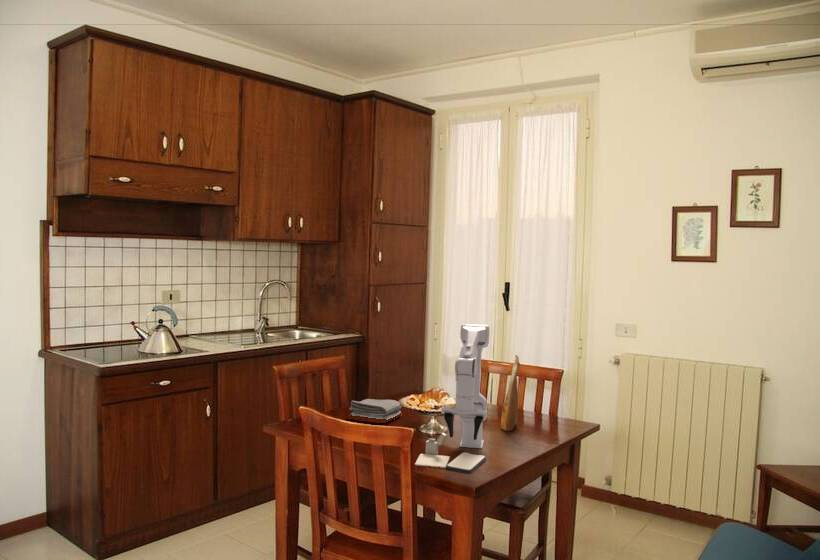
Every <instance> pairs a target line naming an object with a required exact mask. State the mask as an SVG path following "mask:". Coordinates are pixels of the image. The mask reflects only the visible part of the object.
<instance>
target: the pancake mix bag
mask: <svg viewBox="0 0 820 560" xmlns="http://www.w3.org/2000/svg"><path fill="white" fill-rule="evenodd" d="M514 357H515V358H514V363H513V366H512V369H511V376H510V381H509V384H508V388H507V392H506V394H505V395H506V396H505V399H504V402H503V405H502V411H501V419H500V428H501V430H504V431H505V432H509V431H510V430H511V431H512V430H514V429H515V426H516V422H517V417H518V407H519V405H518V403H519V399H518V398H519V396H518V392H519V391H518V378H517V376H518V375H517V374H518V372H519V370H520V366H521V362H520V361H519V360H520V359H519V358H520V357H519V356H518V355H517V354H516V355H515V356H514Z"/></svg>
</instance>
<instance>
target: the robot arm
mask: <svg viewBox="0 0 820 560" xmlns="http://www.w3.org/2000/svg"><path fill="white" fill-rule="evenodd" d="M459 335H460V341H461V343H462V347H461V348H460V351H459V357H458V359H455V362H454V363H455V364H454V373H455V383H456V384H455V406H442V407H441V410H440V413H441V414H442V415H444V416H443V418H444V420H445V423H446V425H447V429H448V433H449V438H453V437H454V421H455V416H456V415H457V416H458V417H459V418H460V419H461V422H462V426H461V428H462V429H461V440H460V443H459V447H460V448H471V449H483V447H484V442H485V441H484V439H483V421H485V420H487V417H488V400H487V397H485V396H484V395H483V394H482V393H481V392H480V391H481V389H480V388H481V375H482V374H481V373H482V371H481V370H482V353H483V350H484V349H485V348H488V347H489V343H490V326H489V325H488V324H473V323H472V324H471V323H462V324H461V325H460V333H459Z"/></svg>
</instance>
